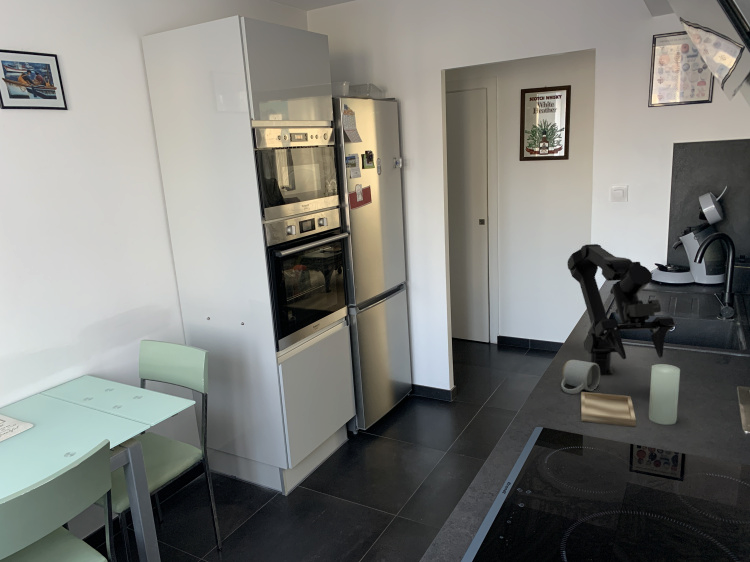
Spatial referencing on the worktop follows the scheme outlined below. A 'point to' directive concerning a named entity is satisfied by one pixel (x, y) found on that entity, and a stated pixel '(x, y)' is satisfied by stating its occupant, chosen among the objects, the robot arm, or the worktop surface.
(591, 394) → the tray
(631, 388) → the worktop surface
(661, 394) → the pillar candle
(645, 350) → the worktop surface
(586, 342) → the robot arm
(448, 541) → the worktop surface
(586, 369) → the ceramic mug
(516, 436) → the worktop surface
